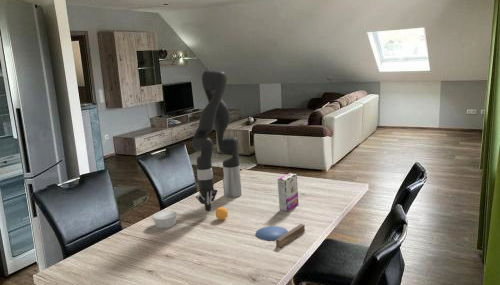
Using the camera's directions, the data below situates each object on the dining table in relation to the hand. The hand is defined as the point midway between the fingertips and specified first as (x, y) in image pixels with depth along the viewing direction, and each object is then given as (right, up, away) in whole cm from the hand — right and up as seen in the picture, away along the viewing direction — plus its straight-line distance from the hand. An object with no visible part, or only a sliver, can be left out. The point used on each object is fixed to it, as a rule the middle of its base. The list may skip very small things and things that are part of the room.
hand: (208, 210), depth 194 cm
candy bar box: (+40, +1, +4) cm, 40 cm away
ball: (+7, 0, -6) cm, 9 cm away
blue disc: (+30, -5, -24) cm, 39 cm away
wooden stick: (+38, -6, -31) cm, 49 cm away
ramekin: (-20, -6, -7) cm, 22 cm away
